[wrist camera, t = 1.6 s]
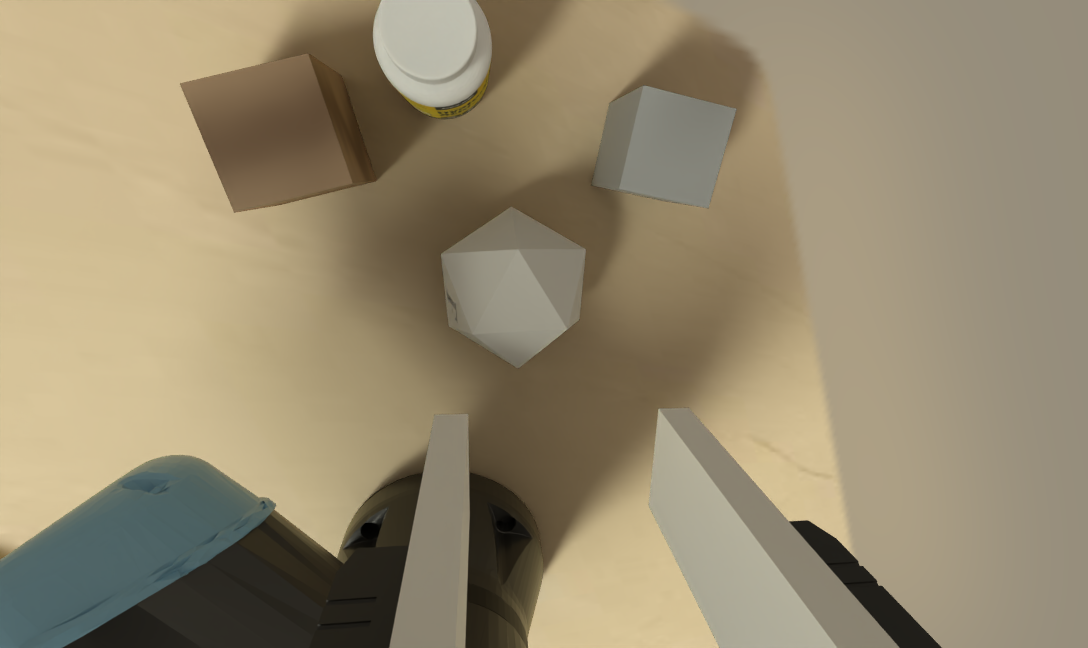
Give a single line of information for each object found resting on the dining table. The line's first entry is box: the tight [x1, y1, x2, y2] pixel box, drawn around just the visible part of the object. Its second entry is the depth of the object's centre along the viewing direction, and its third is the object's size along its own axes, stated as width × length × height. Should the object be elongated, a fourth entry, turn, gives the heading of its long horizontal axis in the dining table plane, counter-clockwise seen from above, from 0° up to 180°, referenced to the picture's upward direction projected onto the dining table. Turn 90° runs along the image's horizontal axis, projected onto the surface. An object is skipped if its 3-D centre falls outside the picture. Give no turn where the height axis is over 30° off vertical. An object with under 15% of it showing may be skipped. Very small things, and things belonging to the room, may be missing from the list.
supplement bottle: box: [373, 0, 492, 119], centre depth 25 cm, size 5×5×10 cm
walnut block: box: [180, 53, 376, 213], centre depth 27 cm, size 6×6×6 cm
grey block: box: [591, 85, 736, 208], centre depth 29 cm, size 5×5×7 cm
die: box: [441, 207, 586, 368], centre depth 30 cm, size 8×9×10 cm
